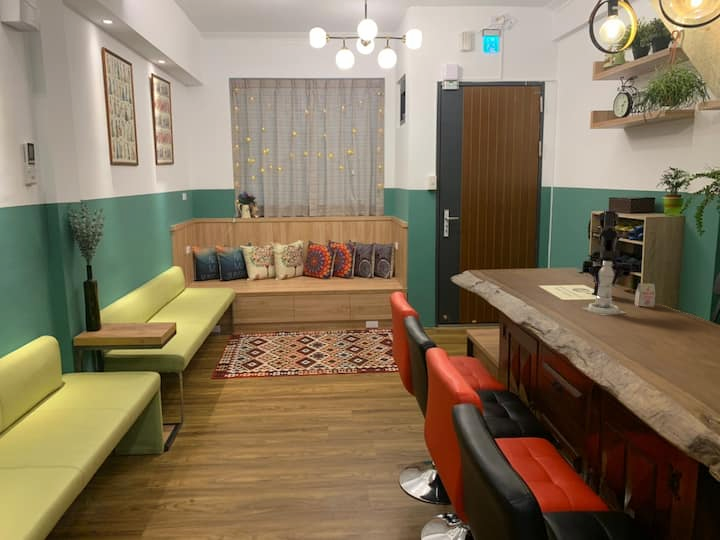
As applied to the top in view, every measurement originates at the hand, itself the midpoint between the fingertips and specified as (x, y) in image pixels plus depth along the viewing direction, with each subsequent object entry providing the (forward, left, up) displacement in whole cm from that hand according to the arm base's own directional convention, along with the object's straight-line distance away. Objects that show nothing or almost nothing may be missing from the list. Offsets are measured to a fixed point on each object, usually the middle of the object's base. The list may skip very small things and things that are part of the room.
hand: (605, 284), depth 239 cm
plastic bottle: (-1, -1, -10) cm, 10 cm away
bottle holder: (-1, -1, -11) cm, 11 cm away
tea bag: (-25, -1, -12) cm, 28 cm away
